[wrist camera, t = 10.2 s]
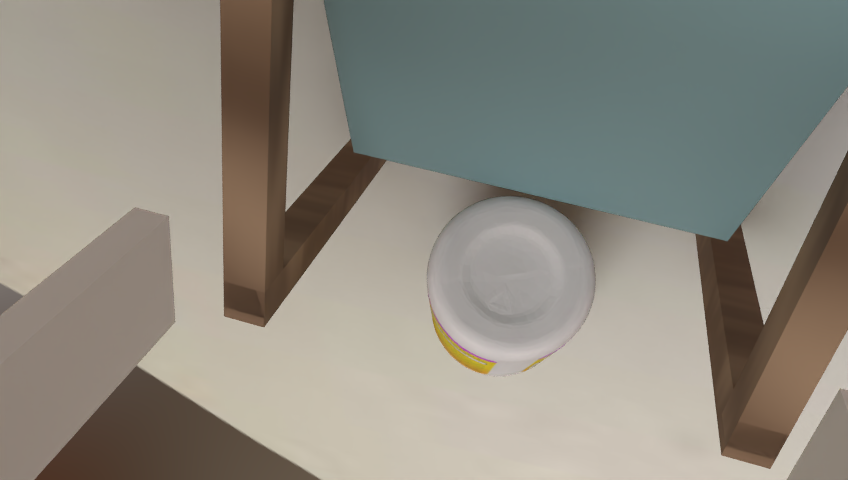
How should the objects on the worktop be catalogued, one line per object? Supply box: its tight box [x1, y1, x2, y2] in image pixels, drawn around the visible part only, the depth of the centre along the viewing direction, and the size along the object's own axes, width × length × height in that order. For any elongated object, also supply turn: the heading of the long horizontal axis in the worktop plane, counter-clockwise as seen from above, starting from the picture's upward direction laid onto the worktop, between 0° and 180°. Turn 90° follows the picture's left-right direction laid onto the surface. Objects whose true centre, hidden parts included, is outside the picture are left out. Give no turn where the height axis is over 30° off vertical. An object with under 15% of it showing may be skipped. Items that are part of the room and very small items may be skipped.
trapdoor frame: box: [220, 0, 848, 469], centre depth 27 cm, size 18×19×16 cm
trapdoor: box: [324, 0, 848, 241], centre depth 23 cm, size 14×15×1 cm
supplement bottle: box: [427, 196, 596, 376], centre depth 35 cm, size 7×7×13 cm
